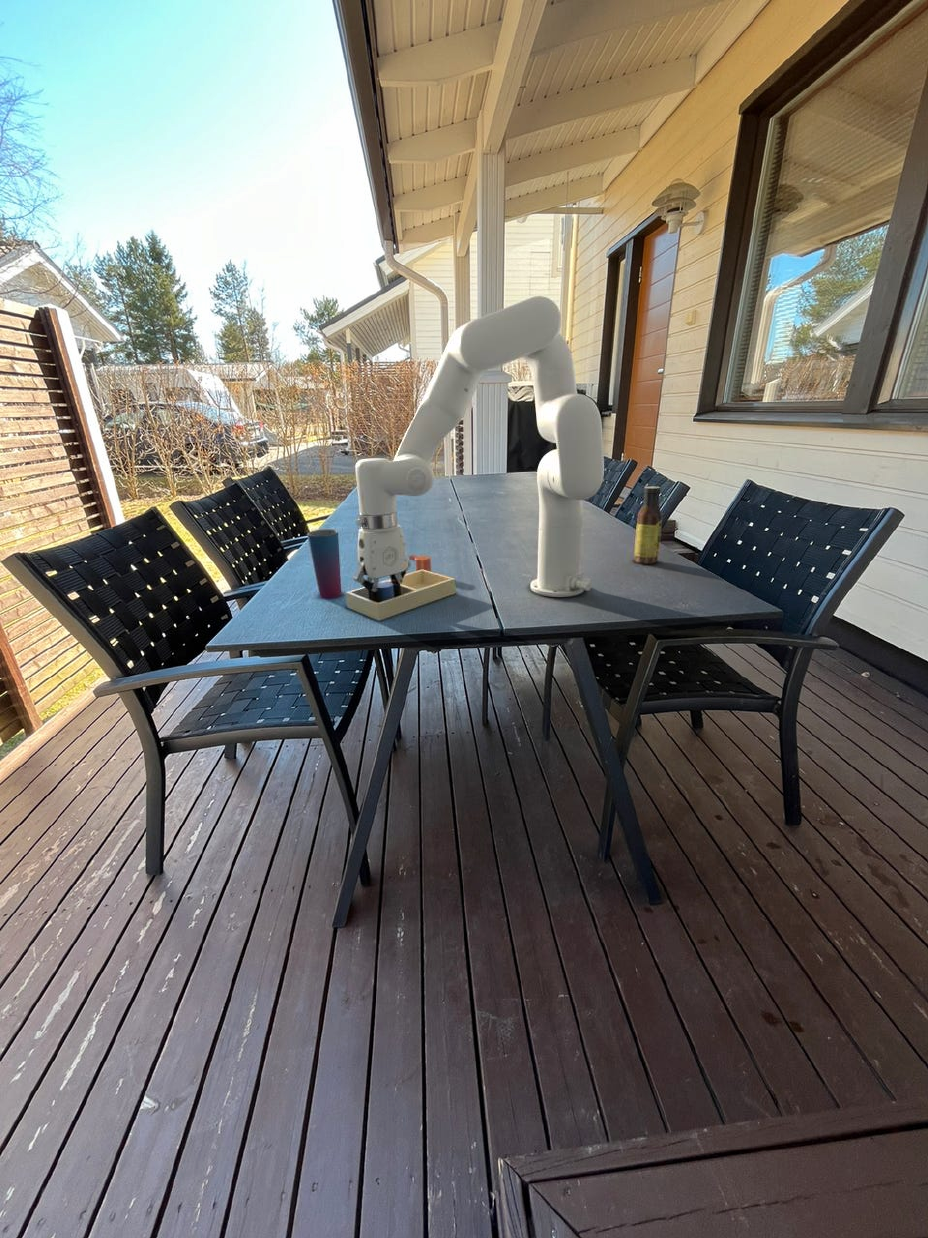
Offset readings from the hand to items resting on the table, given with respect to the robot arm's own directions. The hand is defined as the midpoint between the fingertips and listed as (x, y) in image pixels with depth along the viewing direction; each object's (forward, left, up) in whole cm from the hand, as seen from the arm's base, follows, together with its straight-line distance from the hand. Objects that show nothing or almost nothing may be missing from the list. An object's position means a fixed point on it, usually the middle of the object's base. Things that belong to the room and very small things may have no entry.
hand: (385, 602), depth 115 cm
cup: (+17, +3, -1) cm, 17 cm away
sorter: (+1, -6, -1) cm, 6 cm away
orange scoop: (+13, -22, -1) cm, 25 cm away
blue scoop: (+2, 0, 0) cm, 2 cm away
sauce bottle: (-26, -69, -1) cm, 73 cm away
